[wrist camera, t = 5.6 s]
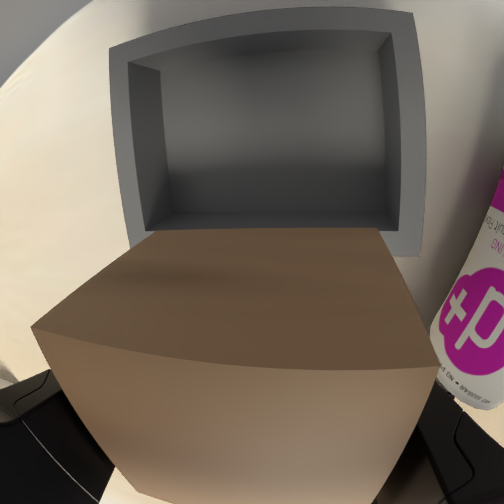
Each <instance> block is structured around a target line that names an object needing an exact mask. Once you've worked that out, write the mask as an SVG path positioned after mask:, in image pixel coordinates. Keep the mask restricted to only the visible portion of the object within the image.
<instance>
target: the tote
mask: <svg viewBox="0 0 504 504" xmlns="http://www.w3.org/2000/svg"><path fill="white" fill-rule="evenodd" d="M109 77H110V98H111V114H112V126H113V137H114V147H115V156H116V164H117V172H118V179H119V186H120V193H121V200H122V206H123V212H124V218H125V223H126V229H127V234H128V239H129V244H130V249H131V248H133V247H134V246H135V245H137V244H138V243H140V242H141V241H142V240H144V239H145V238H147V237H148V236H150V235H151V234H152V233H154V232H155V231H162V230H196V229H242V228H377V229H378V231H379V232H380V234H381V236H382V238H383V240H384V242H385V244H386V245H387V247H388V249H389V251H390V253H391V255H392V256H415V257H420V250H421V241H422V232H423V221H424V208H425V191H426V116H425V99H424V87H423V77H422V68H421V60H420V52H419V45H418V39H417V33H416V27H415V22H414V17H413V13H410V12H402V11H394V10H385V9H373V8H357V7H301V8H285V9H273V10H263V11H255V12H247V13H240V14H234V15H228V16H222V17H217V18H212V19H207V20H202V21H197V22H193V23H189V24H185V25H181V26H177V27H173V28H169V29H166V30H162V31H159V32H155V33H152V34H149V35H146V36H142V37H139V38H136V39H133V40H131V41H128V42H125V43H122V44H119V45H117V46H114V47H111V48H109Z"/></svg>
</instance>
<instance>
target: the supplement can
mask: <svg viewBox="0 0 504 504" xmlns="http://www.w3.org/2000/svg"><path fill="white" fill-rule="evenodd" d="M430 340H431V343H432V345H433V348H434V350H435V353H436V355H437V358H438V361H439V363H440V368H439V371H438V374H437V378H438V380H439V381H440V382H441V383H442V384H443V386H444V387H445V388H446V389H447V390H448V391H449V392H450V393H452V394H453V395H454V396H455V397H456V398H458V399H459V400H460V401H462V402H464V403H466V404H468V405H470V406H472V407H474V408H476V409H483V410H490V409H493V408H495V407H497V406H498V405H499V404H500V403H502V402H504V167H503V170H502V173H501V176H500V179H499V182H498V185H497V188H496V191H495V194H494V196H493V199H492V202H491V204H490V207H489V210H488V212H487V215H486V217H485V219H484V222H483V224H482V227H481V229H480V231H479V234H478V236H477V238H476V240H475V242H474V245H473V247H472V249H471V251H470V253H469V255H468V257H467V259H466V261H465V263H464V265H463V267H462V269H461V271H460V273H459V275H458V277H457V279H456V281H455V283H454V285H453V287H452V288H451V290H450V292H449V294H448V296H447V297H446V299H445V301H444V303H443V304H442V306H441V308H440V309H439V311H438V313H437V314H436V316H435V318H434V320H433V322H432V324H431V327H430Z"/></svg>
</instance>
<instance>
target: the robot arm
mask: <svg viewBox="0 0 504 504" xmlns="http://www.w3.org/2000/svg"><path fill="white" fill-rule="evenodd" d="M454 398H455V396H454V395H453V394H452V393H450V392H449V391H448V392H445V391H444V390H443V389H442V388H441V387H440V386H439V385H438V384H437V383H436V382H434V384H433V387H432V389H431V392H430V394H429V397H428V399H427V401H426V404H425V406H424V408H423V411H422V413H421V415H420V417H419V419H418V422H417V424H416V426H415V428H414V430H413V432H412V434H411V436H410V438H409V440H408V442H407V444H406V446H405V448H404V450H403V452H402V453H401V455H400V457H399V459H398V461H397V463H396V464H395V466H394V468H393V470H392V471H391V473H390V475H389V476H388V478H387V480H386V481H385V483H384V485H383V486H382V488H381V489H380V491H379V493H378V494H377V496H376V497H375V499H374V500H373V502H372V503H371V504H504V448H503V447H502V446H501V445H499V444H498V443H497V442H496V441H495V440H494V439H493V438H492V437H490V436H489V435H488V434H487V433H486V432H485V431H484V430H483V429H482V428H481V427H480V426H479V425H478V424H477V423H476V422H475V421H474V420H473V419H472V418H471V417H470V416H469V415H468V414H467V413H466V412H465V411H463V409H462V408H461V407H460V406H459V405H458V404H457V403H456V402H455V401H454ZM114 468H115V465H114V464H113V463H112V461H111V460H110V459H109V457H108V456H107V455H106V454H105V452H104V451H103V450H102V448H101V447H100V446H99V444H98V443H97V442H96V440H95V439H94V437H93V436H92V435H91V433H90V432H89V430H88V429H87V427H86V426H85V425H84V423H83V422H82V420H81V419H80V417H79V416H78V414H77V412H76V411H75V409H74V408H73V406H72V405H71V403H70V401H69V400H68V398H67V396H66V395H65V393H64V391H63V390H62V388H61V386H60V384H59V383H58V381H57V379H56V377H55V376H54V374H53V372H52V370H50V369H48V370H46V371H44V372H42V373H39V374H37V375H35V376H33V377H30V378H28V379H26V380H23V381H21V382H18V383H15V384H13V385H10V386H7V387H5V388H2V389H0V504H99V503H98V502H100V500H101V497H102V495H103V493H104V491H105V488H106V486H107V484H108V482H109V479H110V477H111V475H112V473H113V471H114Z"/></svg>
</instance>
